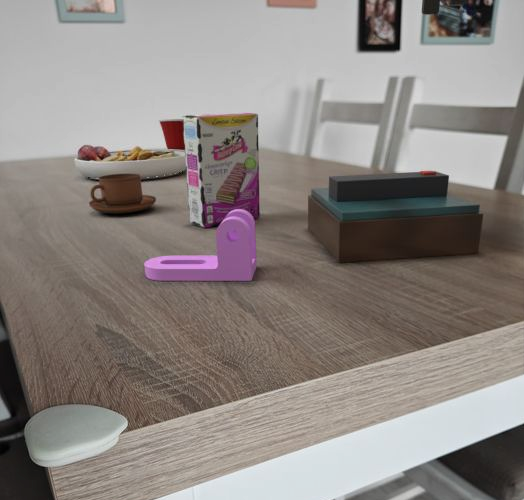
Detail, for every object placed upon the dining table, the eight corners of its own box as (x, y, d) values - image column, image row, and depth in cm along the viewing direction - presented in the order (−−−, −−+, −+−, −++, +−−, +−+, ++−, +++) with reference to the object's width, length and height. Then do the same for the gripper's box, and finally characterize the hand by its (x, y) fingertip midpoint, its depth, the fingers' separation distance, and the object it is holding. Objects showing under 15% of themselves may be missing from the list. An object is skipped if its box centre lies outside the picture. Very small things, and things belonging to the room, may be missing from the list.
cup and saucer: (130, 219, 95) (125, 182, 92) (76, 215, 99) (70, 180, 97) (169, 206, 105) (166, 172, 102) (118, 203, 109) (114, 171, 107)
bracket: (256, 266, 67) (254, 208, 64) (251, 280, 62) (248, 219, 59) (153, 266, 69) (146, 210, 66) (139, 280, 64) (131, 220, 61)
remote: (328, 196, 76) (328, 174, 75) (433, 190, 77) (435, 168, 76) (336, 202, 72) (337, 178, 70) (447, 195, 73) (449, 173, 72)
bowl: (194, 165, 162) (192, 136, 158) (188, 180, 135) (185, 146, 131) (91, 169, 161) (86, 140, 157) (64, 185, 133) (58, 151, 130)
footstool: (420, 221, 87) (424, 182, 84) (478, 253, 69) (484, 205, 67) (307, 228, 85) (308, 188, 82) (338, 262, 68) (339, 213, 65)
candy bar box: (205, 229, 86) (196, 115, 79) (189, 224, 90) (179, 115, 83) (262, 218, 92) (259, 112, 85) (245, 214, 96) (241, 111, 89)
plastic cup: (198, 155, 186) (195, 117, 181) (191, 159, 177) (188, 118, 171) (166, 156, 187) (163, 118, 182) (158, 160, 178) (154, 119, 173)
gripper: (521, -179, 58) (498, 1, 65) (461, -130, 71) (447, 16, 78) (454, -180, 58) (437, 2, 65) (405, -130, 70) (396, 17, 77)
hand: (443, 10), depth 71 cm, fingers open, 8 cm apart
